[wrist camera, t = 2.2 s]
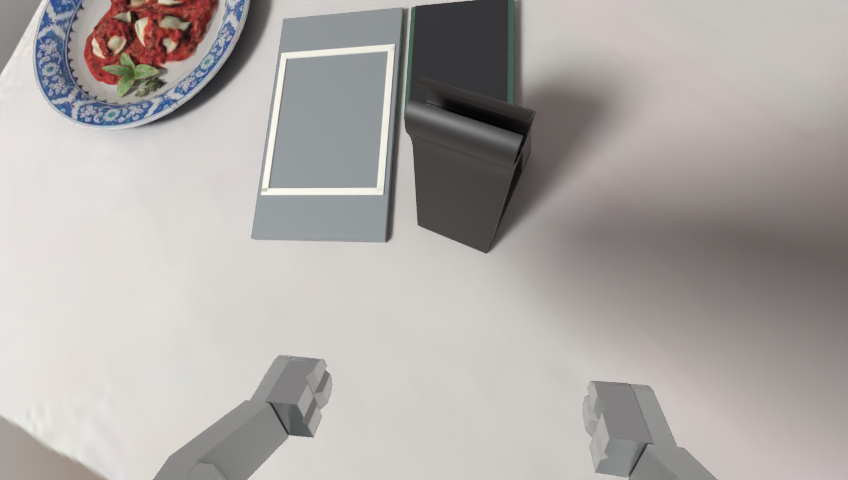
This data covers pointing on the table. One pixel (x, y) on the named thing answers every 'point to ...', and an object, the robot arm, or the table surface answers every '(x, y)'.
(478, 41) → the ink pad
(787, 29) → the table surface
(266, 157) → the marked board
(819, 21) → the table surface
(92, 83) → the ceramic plate
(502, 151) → the phone stand
